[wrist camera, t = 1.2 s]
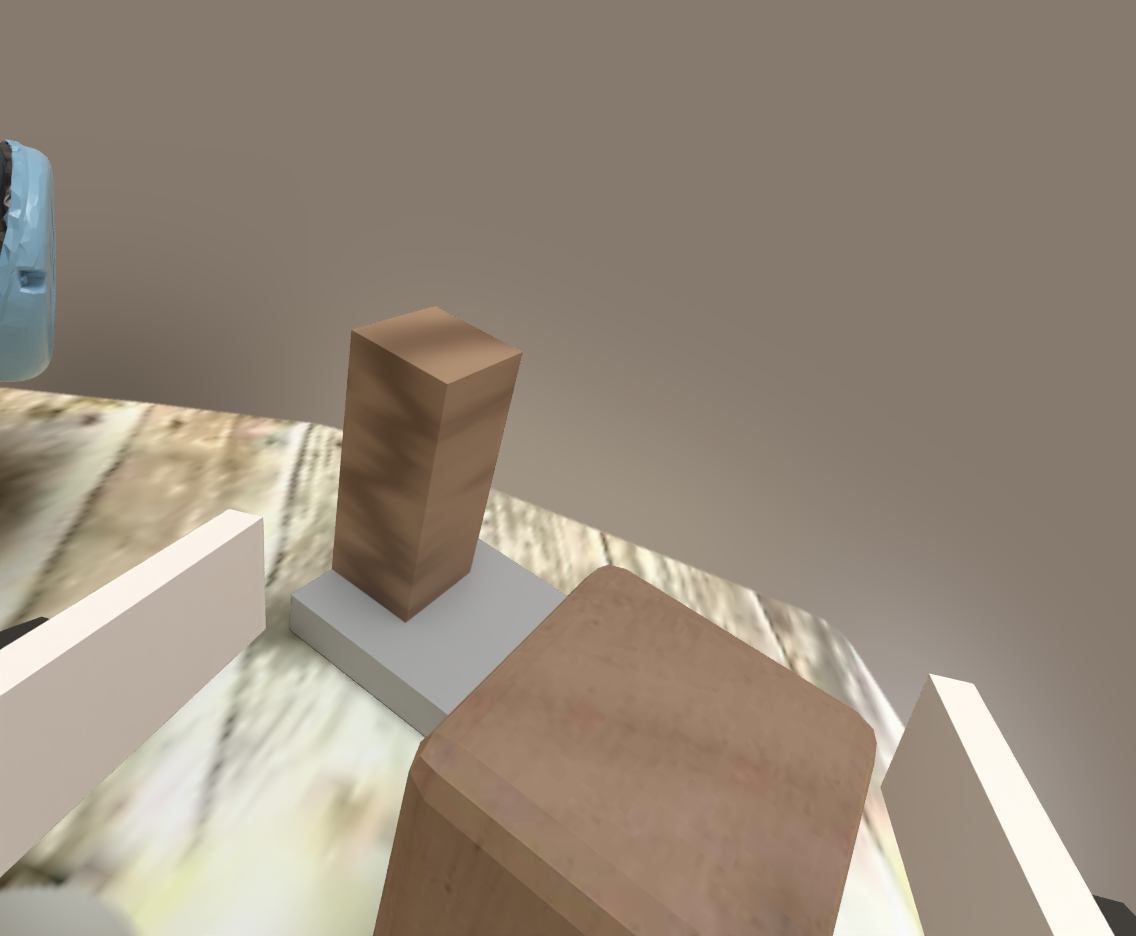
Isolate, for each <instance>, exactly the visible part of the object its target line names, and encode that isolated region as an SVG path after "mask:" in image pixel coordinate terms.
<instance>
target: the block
mask: <svg viewBox="0 0 1136 936" xmlns="http://www.w3.org/2000/svg"><path fill="white" fill-rule="evenodd" d="M876 744H877V743H876V738H875V734H874V730H873V728H872V727H871V726H870V725H869V724H868V723H867V722H866V721H865V720H864V719H863V718H862V717H861V715H860V714H859V713H858V712H856V711H855V710H853V709H852V708H850V707H848V706H847V705H845V704H843V703H842V702H840V701H839V700H837V699H835V698H834V697H832V696H831V695H829V694H827V693H826V692H824V691H822V690H821V689H819V688H818V687H816V686H814V685H813V684H811V683H809V682H808V681H806V680H805V679H803V678H801V677H800V676H798V675H797V674H795V673H793V672H792V671H790V670H788V669H787V668H785V667H784V666H782V665H780V664H779V663H777V662H775V661H774V660H772V659H771V658H769V657H767V656H766V655H764V654H763V653H761V652H759V651H758V650H756V649H754V648H753V647H751V646H750V645H748V644H746V643H745V642H743V641H742V640H740V639H738V638H737V637H735V636H733V635H732V634H730V633H729V632H727V631H725V630H724V629H722V628H720V627H719V626H717V625H716V624H714V623H712V622H711V621H709V620H708V619H706V618H704V617H703V616H701V615H699V614H698V613H696V612H695V611H693V610H691V609H690V608H688V607H686V606H685V605H683V604H682V603H680V602H678V601H677V600H675V599H674V598H672V597H670V596H669V595H667V594H665V593H664V592H662V591H661V590H659V589H657V588H656V587H654V586H653V585H651V584H649V583H648V582H646V581H644V580H643V579H641V578H640V577H638V576H636V575H635V574H633V573H631V572H630V571H628V570H627V569H623V568H619V567H615V566H611V565H606V566H603V567H601V568H598V569H597V570H595V571H594V572H593V573H592V574H590V575H589V576H588V577H587V578H585V579H584V580H583V581H582V582H581V583H580V584H579V585H578V586H577V587H576V588H575V589H574V590H573V591H572V592H571V593H570V594H569V595H568V596H567V597H566V598H565V599H564V600H563V601H562V602H561V603H560V604H559V605H558V606H557V607H556V608H555V609H554V610H553V611H552V612H551V613H550V614H549V615H548V616H547V617H546V618H545V619H544V620H543V621H542V622H541V623H540V624H539V625H538V626H537V627H536V628H535V629H534V630H533V631H532V632H531V633H530V634H529V635H528V636H527V637H526V638H525V639H524V640H523V641H522V642H521V643H520V644H519V645H518V646H517V647H516V648H515V649H514V650H513V651H512V652H511V653H510V654H509V655H508V656H507V657H506V658H505V659H504V660H503V661H502V662H501V663H500V664H499V665H498V666H497V667H496V668H495V669H494V670H493V671H492V672H491V673H490V674H489V675H488V676H487V677H486V678H485V679H484V680H483V681H482V682H481V683H480V684H479V685H478V686H477V687H476V688H475V689H474V690H473V691H472V692H471V693H470V694H469V695H468V696H467V697H466V698H465V699H464V700H463V701H462V702H461V703H460V704H459V705H458V706H457V707H456V708H455V709H454V710H453V711H452V712H451V713H450V714H449V715H448V716H447V717H446V718H445V719H444V720H443V721H442V722H441V723H440V724H439V725H438V726H437V727H436V728H435V729H434V730H433V731H432V732H431V733H430V734H429V735H428V736H427V737H426V738H425V739H423V740H422V741H421V742H420V745H419V747H418V750H417V752H416V755H415V757H414V760H413V762H412V765H411V767H410V770H409V774H408V778H407V783H406V787H405V792H404V797H403V801H402V806H401V810H400V815H399V820H398V824H397V829H396V833H395V838H394V842H393V847H392V852H391V856H390V861H389V865H388V870H387V875H386V879H385V884H384V888H383V893H382V897H381V902H380V907H379V911H378V916H377V920H376V925H375V930H374V934H373V936H833V932H834V928H835V924H836V920H837V916H838V911H839V907H840V903H841V899H842V895H843V891H844V887H845V882H846V878H847V874H848V870H849V866H850V862H851V858H852V854H853V849H854V845H855V841H856V837H857V833H858V829H859V825H860V820H861V816H862V812H863V808H864V804H865V800H866V796H867V791H868V787H869V783H870V779H871V775H872V771H873V767H874V761H875V753H876Z"/></svg>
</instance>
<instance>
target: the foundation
mask: <svg viewBox="0 0 1136 936" xmlns="http://www.w3.org/2000/svg"><path fill="white" fill-rule="evenodd" d="M566 597H567V595H565V594H564V593H562V592H560V591H559V590H557V589H556V588H554V587H553V586H551V585H550V584H548V583H547V582H545V581H544V580H542V579H540V578H539V577H537V576H536V575H534V574H533V573H531V572H530V571H528V570H527V569H525V568H523V567H522V566H520V565H519V564H517V563H516V562H514V561H513V560H511V559H510V558H508V557H506V556H505V555H503V554H502V553H500V552H499V551H497V550H496V549H494V548H493V547H491V546H490V545H488V544H486V543H485V542H483V541H482V540H480V539H479V538H478V541H477V546H476V550H475V554H474V558H473V562H472V567H471V571H470V573H469V574H467V575H466V576H465V577H464V578H462V579H461V580H460V581H458V582H457V583H456V584H455V585H453V586H452V587H451V588H450V589H448V590H447V591H446V592H444V593H443V594H442V595H441V596H439V597H438V598H437V599H436V600H434V601H433V602H432V603H431V604H429V605H428V606H427V607H425V608H424V609H423V610H422V611H420V612H419V613H418V614H417V615H415V616H414V617H413V618H411V619H410V620H409V621H408V622H406V623H405V622H404V621H402V620H401V619H399V618H398V617H397V616H395V615H394V614H393V613H391V612H390V611H388V610H387V609H386V608H384V607H383V606H382V605H380V604H379V603H378V602H376V601H375V600H373V599H372V598H371V597H369V596H368V595H367V594H365V593H364V592H362V591H361V590H360V589H358V588H357V587H356V586H354V585H353V584H352V583H350V582H349V581H347V580H346V579H345V578H343V577H342V576H341V575H339V574H338V573H336V572H335V571H334V570H330V571H328V572H327V573H325V574H324V575H322V576H320V577H319V578H317V579H316V580H314V581H312V582H311V583H309V584H307V585H306V586H304V587H303V588H301V589H299V590H298V591H296V592H295V593H293V594H291V613H290V630H291V631H292V632H293V633H295V634H296V635H297V636H299V637H300V638H301V639H302V640H304V641H305V642H306V643H307V644H309V645H310V646H311V647H312V648H314V649H315V650H316V651H317V652H319V653H320V654H321V655H323V656H324V657H325V658H326V659H328V660H329V661H330V662H331V663H333V664H334V665H335V666H336V667H338V668H339V669H340V670H342V671H343V672H344V673H345V674H347V675H348V676H349V677H350V678H352V679H353V680H354V681H355V682H357V683H358V684H359V685H360V686H362V687H363V688H364V689H366V690H367V691H368V692H369V693H371V694H372V695H373V696H374V697H376V698H377V699H378V700H379V701H381V702H382V703H383V704H384V705H386V706H387V707H388V708H390V709H391V710H392V711H393V712H395V713H396V714H397V715H398V716H400V717H401V718H402V719H403V720H405V721H406V722H407V723H409V724H410V725H411V726H412V727H414V728H415V729H416V730H417V731H419V732H420V733H421V734H422V735H424V736H425V737H427V736H428V735H429V734H430V733H431V732H432V731H433V730H434V729H435V728H436V727H437V726H438V725H439V724H440V723H441V722H442V721H443V720H444V719H445V718H446V717H447V716H448V715H449V714H450V713H451V712H452V711H453V710H454V709H455V708H456V707H457V706H458V705H459V704H460V703H461V702H462V701H463V700H464V699H465V698H466V697H467V696H468V695H469V694H470V693H471V692H472V691H473V690H474V689H475V688H476V687H477V686H478V685H479V684H480V683H481V682H482V681H483V680H484V679H485V678H486V677H487V676H488V675H489V674H490V673H491V672H492V671H493V670H494V669H495V668H496V667H497V666H498V665H499V664H500V663H501V662H502V661H503V660H504V659H505V658H506V657H507V656H508V655H509V654H510V653H511V652H512V651H513V650H514V649H515V648H516V647H517V646H518V645H519V644H520V643H521V642H522V641H523V640H524V639H525V638H526V637H527V636H528V635H529V634H530V633H531V632H532V631H533V630H534V629H535V628H536V627H537V626H538V625H539V624H540V623H541V622H542V621H543V620H544V619H545V618H546V617H547V616H548V615H549V614H550V613H551V612H552V611H553V610H554V609H555V608H556V607H557V606H558V605H559V604H560V603H561V602H562V601H563V600H564V599H565V598H566Z"/></svg>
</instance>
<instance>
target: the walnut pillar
mask: <svg viewBox="0 0 1136 936" xmlns="http://www.w3.org/2000/svg"><path fill="white" fill-rule="evenodd" d="M521 356H522V352H521V351H519V350H517V349H515V348H513V347H512V346H510V345H508V344H506V343H504V342H502V341H500V340H498V339H496V338H494V337H493V336H491V335H489V334H487V333H485V332H483V331H481V330H479V329H477V328H475V327H473V326H472V325H470V324H468V323H466V322H464V321H462V320H460V319H458V318H456V317H454V316H452V315H451V314H449V313H447V312H445V311H443V310H441V309H439V308H437V307H435V306H434V307H430V308H427V309H423V310H420V311H416V312H413V313H409V314H405V315H402V316H398V317H395V318H391V319H388V320H384V321H381V322H378V323H374V324H370V325H367V326H363V327H360V328H356V329H353V330H352V331H351V344H350V356H349V369H348V380H347V392H346V404H345V416H344V428H343V441H342V453H341V465H340V477H339V489H338V502H337V514H336V526H335V538H334V550H333V563H332V570H334V571H335V572H336V573H338V574H339V575H341V576H342V577H343V578H345V579H346V580H347V581H349V582H350V583H352V584H353V585H354V586H356V587H357V588H358V589H360V590H361V591H362V592H364V593H365V594H367V595H368V596H369V597H371V598H372V599H373V600H375V601H376V602H378V603H379V604H380V605H382V606H383V607H384V608H386V609H387V610H388V611H390V612H391V613H393V614H394V615H395V616H397V617H398V618H399V619H401V620H402V621H404V622H405V623H406V622H408V621H409V620H410V619H411V618H413V617H414V616H415V615H417V614H418V613H419V612H420V611H422V610H423V609H424V608H425V607H427V606H428V605H429V604H431V603H432V602H433V601H434V600H436V599H437V598H438V597H439V596H441V595H442V594H443V593H444V592H446V591H447V590H448V589H450V588H451V587H452V586H453V585H455V584H456V583H457V582H458V581H460V580H461V579H462V578H464V577H465V576H466V575H467V574H469V573H470V571H471V567H472V562H473V558H474V554H475V550H476V546H477V541H478V537H479V533H480V529H481V525H482V520H483V516H484V512H485V508H486V504H487V499H488V495H489V491H490V487H491V483H492V478H493V474H494V470H495V465H496V461H497V457H498V453H499V448H500V445H501V440H502V436H503V432H504V427H505V424H506V420H507V415H508V411H509V406H510V403H511V398H512V394H513V390H514V386H515V382H516V377H517V373H518V369H519V365H520V361H521Z"/></svg>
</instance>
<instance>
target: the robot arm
mask: <svg viewBox="0 0 1136 936" xmlns="http://www.w3.org/2000/svg"><path fill="white" fill-rule="evenodd" d="M55 261H56V260H55V205H54V186H53V174H52V168H51V165H50V162H49V160H48V158H47V157H46V156H45V155H43V154H42V153H41V152H39V151H38V150H36V149H33V148H29V147H25V146H22V145H21V144H20V143H18V142H17V141H10V140H4V141H2V142H1V143H0V382H11V381H23V380H28V379H31V378H34V377H36V376H37V375H39V374H40V373H42V372H43V371H44V370H45V369H46V368H47V366H48V365H49V363H50V360H51V358H52V353H53V344H54V328H55V278H56V276H55V275H56V273H55V272H56V264H55ZM265 629H266V622H265V577H264V532H263V517H261V516H257V515H253V514H248V513H244V512H240V511H236V510H231V509H228V510H227V511H225V512H223V513H222V514H220V515H219V516H217V517H215V518H214V519H212V520H210V521H209V522H207V523H206V524H204V525H202V526H201V527H199V528H197V529H196V530H194V531H193V532H191V533H189V534H188V535H186V536H184V537H183V538H181V539H180V540H178V541H176V542H175V543H173V544H171V545H170V546H168V547H167V548H165V549H163V550H162V551H160V552H158V553H157V554H155V555H154V556H152V557H150V558H149V559H147V560H145V561H144V562H142V563H141V564H139V565H137V566H136V567H134V568H132V569H131V570H129V571H128V572H126V573H124V574H123V575H121V576H119V577H118V578H116V579H115V580H113V581H111V582H110V583H108V584H106V585H105V586H103V587H102V588H100V589H98V590H97V591H95V592H93V593H92V594H90V595H89V596H87V597H85V598H84V599H82V600H80V601H79V602H77V603H76V604H74V605H72V606H71V607H69V608H67V609H66V610H64V611H63V612H61V613H59V614H58V615H56V616H54V617H53V618H51V619H48V618H44V617H39V618H37V619H34V620H31V621H28V622H26V623H23V624H20V625H17V626H14V627H12V628H9V629H6V630H3V631H1V632H0V877H1V876H2V875H3V874H4V873H5V872H6V871H7V870H8V869H10V868H11V867H12V866H13V865H14V864H15V863H16V862H17V861H18V860H19V859H20V858H21V857H22V856H23V855H25V854H26V853H27V852H28V851H29V850H30V849H31V848H32V847H33V846H34V845H35V844H36V843H37V842H38V841H39V840H41V839H42V838H43V837H44V836H45V835H46V834H47V833H48V832H49V831H50V830H51V829H52V828H53V827H54V826H56V825H57V824H58V823H59V822H60V821H61V820H62V819H63V818H64V817H65V816H66V815H67V814H68V813H69V812H70V811H72V810H73V809H74V808H75V807H76V806H77V805H78V804H79V803H80V802H81V801H82V800H83V799H84V798H85V797H86V796H88V795H89V794H90V793H91V792H92V791H93V790H94V789H95V788H96V787H97V786H98V785H99V784H100V783H101V782H103V781H104V780H105V779H106V778H107V777H108V776H109V775H110V774H111V773H112V772H113V771H114V770H115V769H116V768H117V767H119V766H120V765H121V764H122V763H123V762H124V761H125V760H126V759H127V758H128V757H129V756H130V755H131V754H132V753H133V752H135V751H136V750H137V749H138V748H139V747H140V746H141V745H142V744H143V743H144V742H145V741H146V740H147V739H148V738H150V737H151V736H152V735H153V734H154V733H155V732H156V731H157V730H158V729H159V728H160V727H161V726H162V725H163V724H164V723H166V722H167V721H168V720H169V719H170V718H171V717H172V716H173V715H174V714H175V713H176V712H177V711H178V710H179V709H180V708H182V707H183V706H184V705H185V704H186V703H187V702H188V701H189V700H190V699H191V698H192V697H193V696H194V695H195V694H197V693H198V692H199V691H200V690H201V689H202V688H203V687H204V686H205V685H206V684H207V683H208V682H209V681H210V680H211V679H213V678H214V677H215V676H216V675H217V674H218V673H219V672H220V671H221V670H222V669H223V668H224V667H225V666H226V665H228V664H229V663H230V662H231V661H232V660H233V659H234V658H235V657H236V656H237V655H238V654H239V653H240V652H241V651H242V650H244V649H245V648H246V647H247V646H248V645H249V644H250V643H251V642H252V641H253V640H254V639H255V638H256V637H257V636H258V635H260V634H261V633H262V632H263V631H264V630H265ZM881 790H882V794H883V797H884V800H885V804H886V807H887V810H888V814H889V817H890V820H891V824H892V827H893V830H894V834H895V837H896V841H897V844H898V847H899V851H900V854H901V857H902V861H903V864H904V867H905V871H906V874H907V877H908V881H909V884H910V888H911V891H912V894H913V898H914V901H915V904H916V908H917V911H918V914H919V918H920V921H921V924H922V928H923V931H924V935H925V936H1136V916H1135V915H1134V914H1133V913H1132V912H1131V911H1130V910H1129V909H1128V908H1127V907H1126V906H1125V905H1124V903H1121V902H1117V901H1114V900H1110V899H1106V898H1102V897H1099V896H1094V895H1091V893H1090V891H1089V889H1088V888H1087V886H1086V884H1085V882H1084V881H1083V879H1082V877H1081V875H1080V873H1079V871H1078V870H1077V868H1076V866H1075V864H1074V862H1073V861H1072V859H1071V857H1070V855H1069V854H1068V852H1067V850H1066V848H1065V846H1064V845H1063V843H1062V841H1061V839H1060V838H1059V836H1058V834H1057V832H1056V831H1055V829H1054V827H1053V825H1052V823H1051V821H1050V820H1049V818H1048V816H1047V814H1046V813H1045V811H1044V809H1043V807H1042V805H1041V804H1040V802H1039V800H1038V798H1037V796H1036V795H1035V793H1034V791H1033V789H1032V788H1031V786H1030V784H1029V782H1028V780H1027V779H1026V777H1025V775H1024V773H1023V771H1022V770H1021V768H1020V766H1019V764H1018V763H1017V761H1016V759H1015V757H1014V755H1013V754H1012V752H1011V750H1010V748H1009V746H1008V745H1007V743H1006V741H1005V739H1004V738H1003V736H1002V734H1001V732H1000V730H999V729H998V727H997V725H996V723H995V722H994V720H993V718H992V716H991V715H990V713H989V711H988V709H987V707H986V706H985V704H984V702H983V700H982V698H981V697H980V695H979V693H978V691H977V689H976V688H975V686H974V684H971V683H967V682H962V681H959V680H954V679H950V678H946V677H942V676H937V675H933V674H929V675H928V677H927V680H926V682H925V684H924V687H923V689H922V691H921V694H920V696H919V699H918V701H917V703H916V705H915V708H914V710H913V713H912V715H911V717H910V719H909V722H908V724H907V726H906V729H905V731H904V733H903V736H902V738H901V740H900V743H899V745H898V747H897V750H896V752H895V754H894V757H893V759H892V761H891V764H890V766H889V768H888V771H887V773H886V775H885V778H884V780H883V782H882V785H881Z"/></svg>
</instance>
